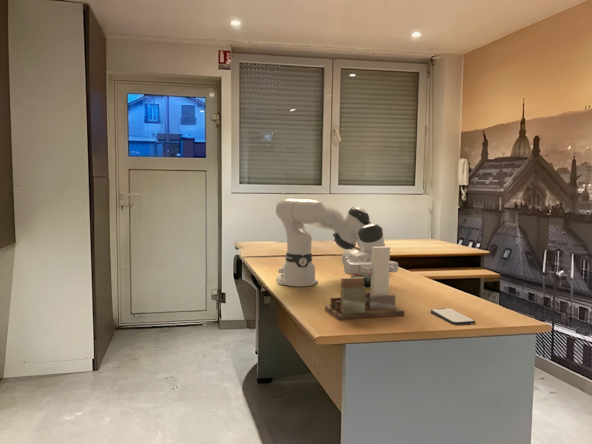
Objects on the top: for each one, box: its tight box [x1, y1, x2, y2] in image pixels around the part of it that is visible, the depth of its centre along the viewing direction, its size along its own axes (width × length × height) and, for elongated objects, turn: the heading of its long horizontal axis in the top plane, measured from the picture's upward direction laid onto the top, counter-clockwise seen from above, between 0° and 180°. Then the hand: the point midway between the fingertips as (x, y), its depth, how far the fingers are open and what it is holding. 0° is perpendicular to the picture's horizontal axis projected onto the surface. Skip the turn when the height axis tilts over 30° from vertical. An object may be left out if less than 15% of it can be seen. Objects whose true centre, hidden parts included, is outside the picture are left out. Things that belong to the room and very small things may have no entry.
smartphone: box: [430, 307, 476, 326], centre depth 166 cm, size 9×2×16 cm
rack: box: [324, 292, 405, 321], centre depth 170 cm, size 14×25×6 cm, turn 107°
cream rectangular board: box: [369, 246, 391, 296], centre depth 172 cm, size 2×6×22 cm, turn 107°
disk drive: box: [350, 275, 371, 288], centre depth 220 cm, size 10×3×15 cm
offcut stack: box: [340, 277, 367, 314], centre depth 164 cm, size 3×8×12 cm, turn 107°
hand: (381, 270), depth 171 cm, fingers open, 8 cm apart
